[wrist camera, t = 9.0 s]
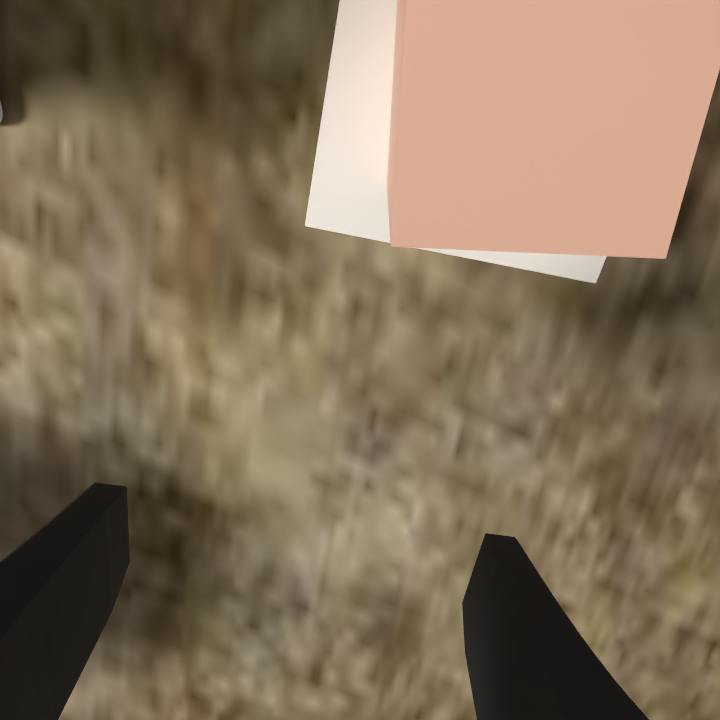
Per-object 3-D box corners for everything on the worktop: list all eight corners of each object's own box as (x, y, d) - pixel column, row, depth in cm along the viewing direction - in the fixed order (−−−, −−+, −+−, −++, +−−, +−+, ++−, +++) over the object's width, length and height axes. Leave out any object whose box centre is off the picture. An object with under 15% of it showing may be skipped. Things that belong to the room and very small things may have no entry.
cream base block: (317, 190, 20) (304, 226, 16) (367, -117, 16) (363, -157, 12) (557, 238, 20) (595, 283, 17) (660, -47, 17) (736, -67, 13)
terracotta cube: (386, 185, 16) (390, 246, 11) (400, -52, 13) (412, -91, 9) (584, 193, 16) (665, 258, 11) (632, -42, 13) (760, -76, 9)
